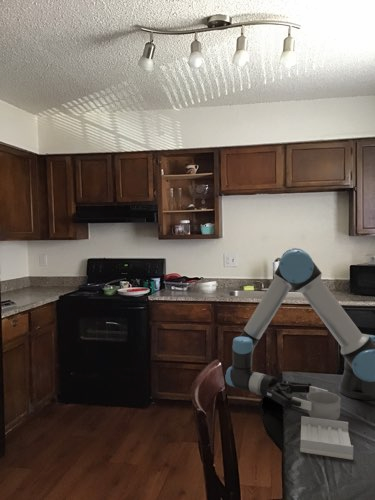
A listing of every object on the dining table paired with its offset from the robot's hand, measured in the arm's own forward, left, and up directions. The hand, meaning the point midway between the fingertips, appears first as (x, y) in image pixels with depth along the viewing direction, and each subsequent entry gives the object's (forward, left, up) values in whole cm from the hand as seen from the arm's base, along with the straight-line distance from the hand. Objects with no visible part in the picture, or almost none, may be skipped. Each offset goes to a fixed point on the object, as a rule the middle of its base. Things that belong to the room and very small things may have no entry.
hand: (319, 400), depth 143 cm
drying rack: (+9, +15, -6) cm, 18 cm away
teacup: (-1, 0, -6) cm, 6 cm away
